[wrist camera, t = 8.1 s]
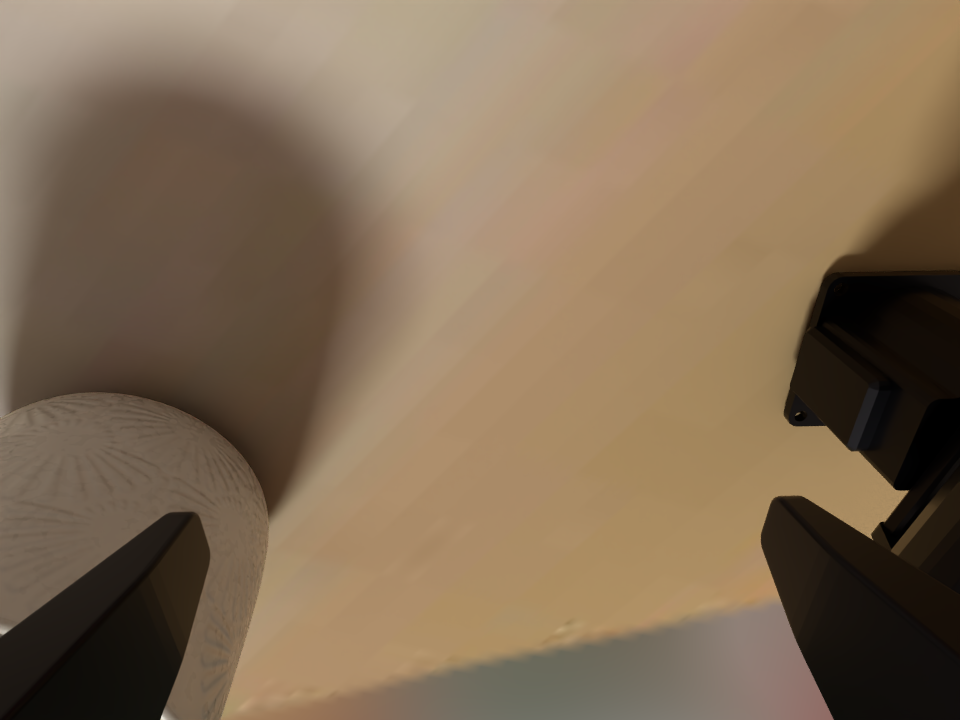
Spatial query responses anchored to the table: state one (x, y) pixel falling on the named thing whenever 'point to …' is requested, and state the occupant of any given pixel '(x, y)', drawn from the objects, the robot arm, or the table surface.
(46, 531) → the planter
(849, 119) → the table surface
